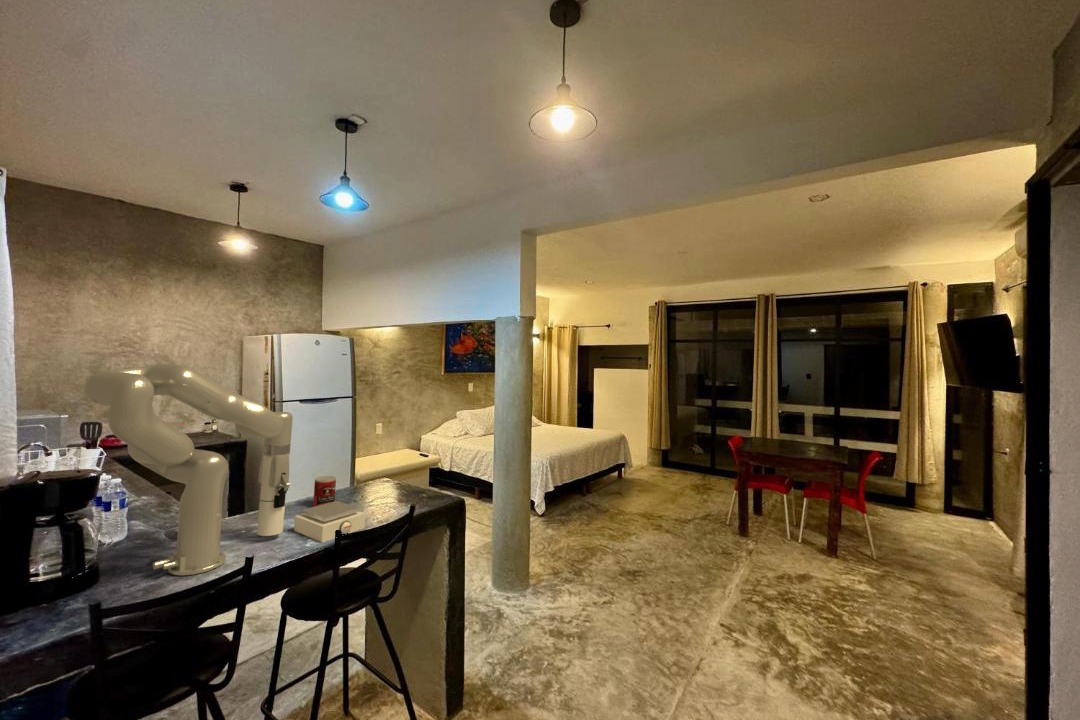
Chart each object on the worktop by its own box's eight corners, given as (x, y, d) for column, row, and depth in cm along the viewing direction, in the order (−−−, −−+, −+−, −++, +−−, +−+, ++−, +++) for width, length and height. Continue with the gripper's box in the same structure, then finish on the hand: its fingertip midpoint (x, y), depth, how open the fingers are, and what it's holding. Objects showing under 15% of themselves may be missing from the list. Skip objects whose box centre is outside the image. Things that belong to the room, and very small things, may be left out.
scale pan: (324, 521, 141) (324, 518, 141) (301, 513, 148) (302, 509, 148) (359, 511, 152) (359, 508, 152) (336, 504, 159) (336, 500, 159)
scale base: (323, 543, 138) (324, 527, 138) (294, 530, 147) (294, 516, 147) (366, 528, 152) (367, 514, 152) (337, 517, 161) (337, 504, 161)
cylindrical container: (287, 531, 142) (293, 454, 143) (264, 537, 135) (271, 457, 136) (275, 526, 145) (281, 451, 146) (252, 532, 139) (259, 454, 140)
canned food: (315, 510, 168) (317, 481, 168) (311, 504, 174) (312, 477, 174) (336, 506, 173) (338, 479, 173) (331, 501, 179) (333, 474, 179)
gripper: (250, 447, 143) (246, 502, 142) (279, 455, 134) (274, 513, 133) (274, 445, 149) (270, 497, 148) (303, 452, 140) (299, 507, 139)
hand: (272, 504), depth 141 cm, fingers closed on cylindrical container, 7 cm apart
